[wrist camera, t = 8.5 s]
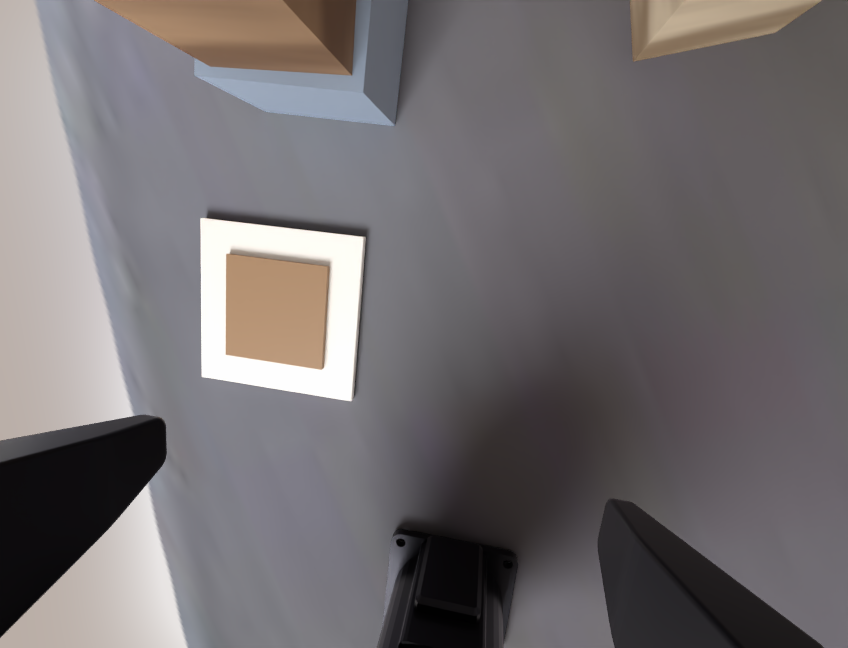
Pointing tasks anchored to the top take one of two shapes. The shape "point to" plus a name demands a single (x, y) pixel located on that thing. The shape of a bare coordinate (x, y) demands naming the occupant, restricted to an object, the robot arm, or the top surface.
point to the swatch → (281, 307)
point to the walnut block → (252, 31)
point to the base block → (327, 93)
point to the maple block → (705, 22)
